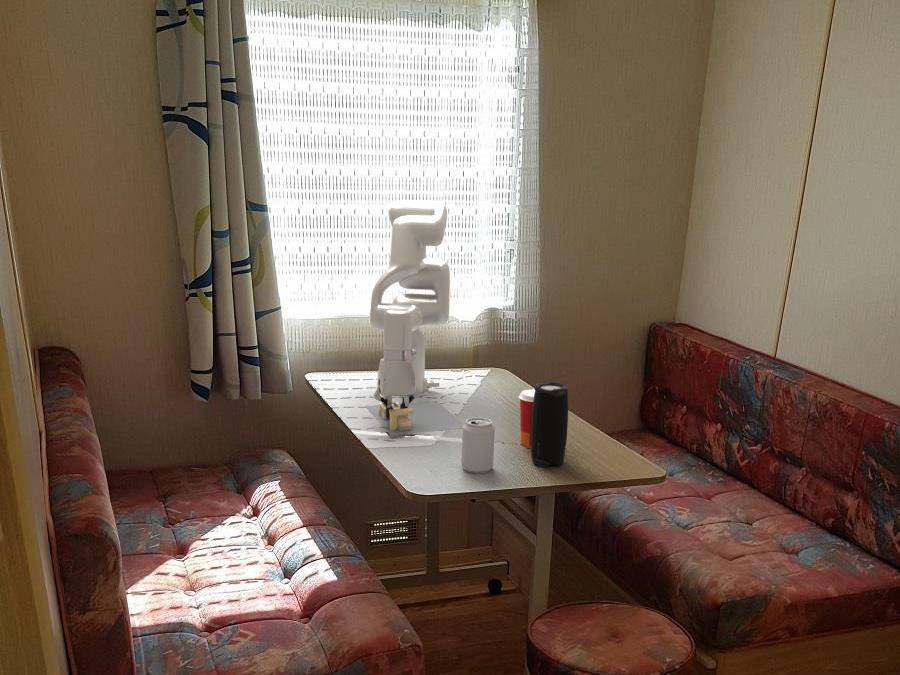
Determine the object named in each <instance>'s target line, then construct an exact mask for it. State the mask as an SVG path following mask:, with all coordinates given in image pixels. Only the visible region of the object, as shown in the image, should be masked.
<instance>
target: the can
mask: <svg viewBox="0 0 900 675" xmlns="http://www.w3.org/2000/svg"><path fill="white" fill-rule="evenodd" d="M464 424H465V425H464V426H463V428H462V444H461V445H462V447H461V448H462V449H461V466H462V468H463V469H464V470H465V471H467V472H468V473H471V474H486V473H488V472H490V470H492V469H493V468H494V453H495V450H494V449H495V431H496V430H495V429H496V428H495V426H494V425H493V421H492V420H491V419H489V418H485V417H469V418H467V419H466V420H465V423H464Z"/></svg>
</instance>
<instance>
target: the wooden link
mask: <svg viewBox="0 0 900 675" xmlns="http://www.w3.org/2000/svg"><path fill="white" fill-rule="evenodd" d="M392 404H394V407H393V409H400V403H399V402H398V401H395V402H394V401H392ZM378 405H379V414H380V415H381V416H382V418H383V419H388V418H386V405H385V404H384V403H383V402H379V403H378ZM397 429H398V430H399V431H408V430H411V419H410V418H409V417H408V416H407V415H397Z"/></svg>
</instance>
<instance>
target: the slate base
mask: <svg viewBox="0 0 900 675" xmlns="http://www.w3.org/2000/svg"><path fill="white" fill-rule="evenodd" d="M399 404H400V405H401V404H402V402H401V403H399ZM392 407H394V404H392ZM365 408H366V409H367V410H368V412H369V413H370V414H371V415H373V417H374V418H375V419H376V420H377V421H378V422H379V423H380V425H382V427H383V428H384V429H385V430H386V431H385V433H386V435H387V436H388V437H389V439H397V437H400V438H406V437H405V436H411V437H416V436H415V435H420V434H419V433H426V432H439V431H447V430H459V429H463V426H464V425H465V424H466V423H464V422H463V421H462V420H461V419H459V418H458V417H457V416H456V415H454V414H453V413H452V412H451V411H450V410H448V409H447V408H445V406H443V405H442V404H441V403H440V402H438V400H428V401H427V400H426V401H417V402H415V401H412V402H411V403H410V404H409V406H408V408H404V409H391V410H389V414H390V421H389V420H388V419H383V418H382V416H381V415H380V414H379V404H377V405H375V404H374V405H365ZM397 415H407V416H408V417H409V418H410V419H411V430H408V431H399V430H398V429H397ZM417 433H418V434H417Z"/></svg>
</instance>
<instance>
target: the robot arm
mask: <svg viewBox="0 0 900 675" xmlns="http://www.w3.org/2000/svg"><path fill="white" fill-rule="evenodd" d="M387 212H388V219H389V221H390V224H391V227H392V228H391V230H392V231H391V243H390V255H389V256H390V257H389V267H388V269H387V270H386V271H385V272H384V273H383V274H382V275H381V276H380V277H379V278H378V280H377V281H376V283H375V285H374V287H373V289H372V293H371V299H370V300H371V301H370V308H369V309H370V310H369V311H370V313H369V319H370V324H371V327H372V328H373V329H374V330H378V331H383V358H380V361H379V364H378V365H379V366H378V369H377V370H378V372H377V380H376V381H377V382H376V390H375V391H374V394H373V395H372V397H373V398H374V400H376V401H378V402H380V403H384V404H385V405H386V418H388V420H389V421H390V414H389V410H391V409H393V407H392V402H393V397H401V403H402V404H401V405H400V409H404V408H408V406H409V404H410V403H413V402H414V399H416V398H417V397H419V396H425V395H427V394H430V388H438V387H440V381H439V380H433V379H426V378H425V374H426V373H425V370H426V363H425V362H426V338H425V335H424V333H423V332H422V330H421V329H420V326H434V327H435V326H436V327H437V326H439V327H440V326H443V325H446V324H447V322H448V320H449V315H450V290H451V288H450V287H451V286H450V285H451V284H450V283H451V274H450V267H449V266H450V265H449V264H448V263H447V261H446V260H444V259H440V258H427V255H426V253H427V247H438V246H440V245H441V244H442V242H443V240H444V237H445V232H446V226H447V220H448V210H447V207H446V205H445V204H444V203H443V202H441V201H434V200H409V199H408V200H407V199H405V200H396V201H393V202H391V203H390V204H389V206H388V211H387ZM397 283H398V285H399V286H400V287H401V288H403V289H407V290H422V291H423V290H425V291H433V292H434V294H428V293H426V294H425V293H401V294H398V295H397V296H395V297H394V299H393V300H392V303H384V302H383V303H382V300H383V296H384V293H385V292H386V291H387V290H388V289H389V288H390V287H392V286H393V285H395V284H397Z"/></svg>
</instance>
